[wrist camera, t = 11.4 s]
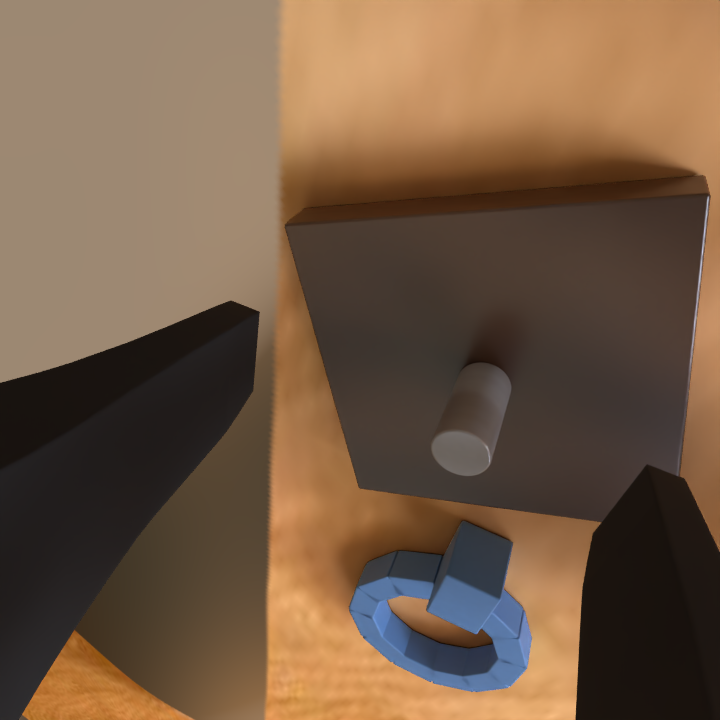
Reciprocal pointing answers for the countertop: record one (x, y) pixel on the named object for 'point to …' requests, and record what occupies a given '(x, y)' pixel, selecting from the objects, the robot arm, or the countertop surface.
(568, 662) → the countertop surface
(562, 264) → the platform
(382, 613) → the ring
